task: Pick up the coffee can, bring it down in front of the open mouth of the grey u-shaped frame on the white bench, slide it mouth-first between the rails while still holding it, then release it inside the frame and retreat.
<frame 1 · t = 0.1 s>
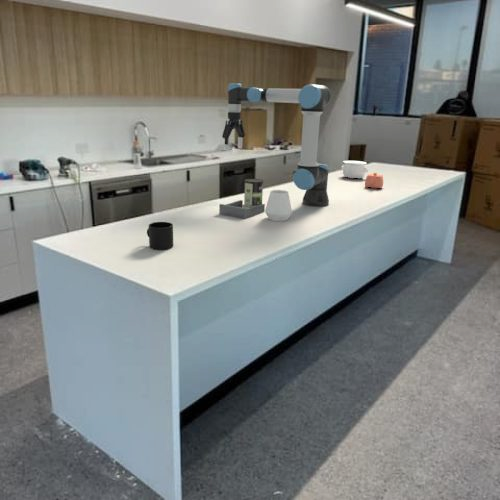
hand: (233, 149, 272), 28 cm above the countertop, fingers open, 13 cm apart
grey u-shaped frame: (243, 212, 241), on the countertop
coffee can: (253, 205, 258), on the countertop
pot: (353, 178, 358), on the countertop
mug: (159, 246, 184), on the countertop
cup: (278, 219, 231), on the countertop
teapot: (373, 188, 320), on the countertop
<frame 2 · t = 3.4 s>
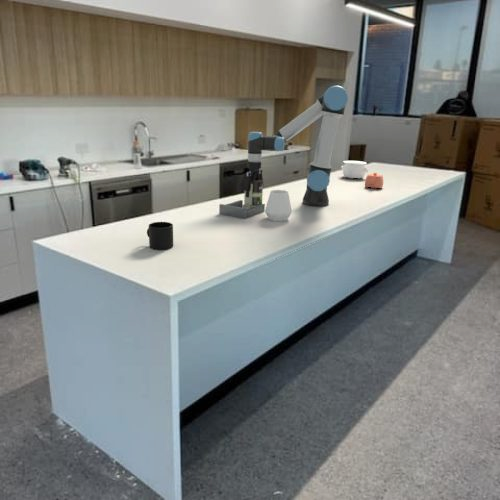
hand: (253, 201, 257), 2 cm above the countertop, fingers closed on coffee can, 10 cm apart
coffee can: (253, 205, 258), on the countertop, touching gripper
everything else where it was.
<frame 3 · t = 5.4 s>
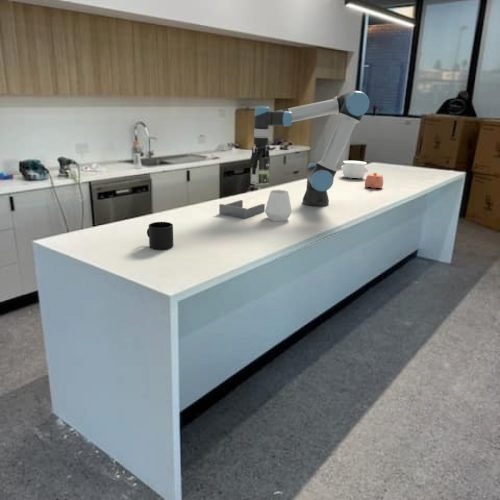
hand: (259, 179, 249), 16 cm above the countertop, fingers closed on coffee can, 10 cm apart
coffee can: (259, 183, 250), point 13 cm above the countertop, touching gripper
everything else where it was.
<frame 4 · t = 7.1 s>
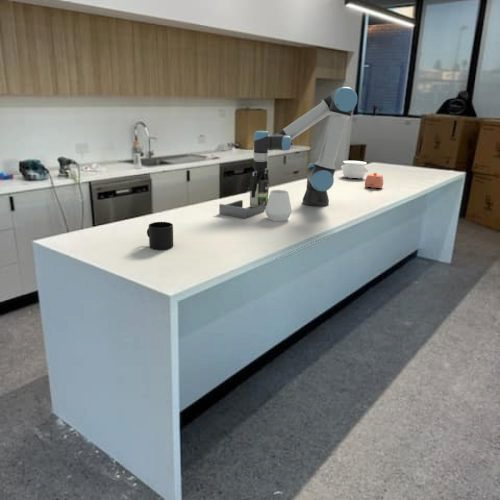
hand: (258, 201, 253), 3 cm above the countertop, fingers closed on coffee can, 10 cm apart
coffee can: (258, 205, 254), point 1 cm above the countertop, touching gripper
everything else where it was.
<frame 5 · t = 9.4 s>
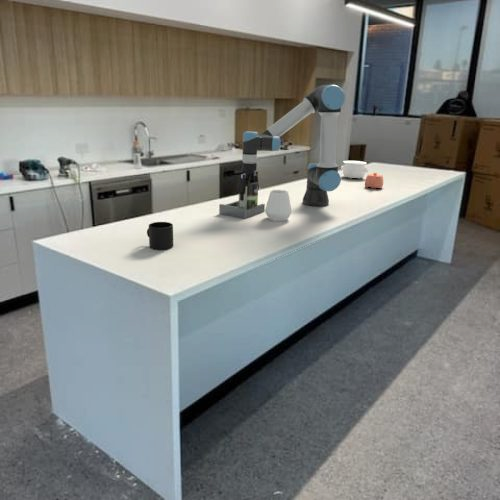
hand: (248, 204, 244), 3 cm above the countertop, fingers closed on coffee can, 10 cm apart
coffee can: (247, 209, 245), point 1 cm above the countertop, touching gripper
everything else where it was.
when the fingers open (3 cm above the countertop, at t = 11.1 s): coffee can stays where it is, resting in grey u-shaped frame.
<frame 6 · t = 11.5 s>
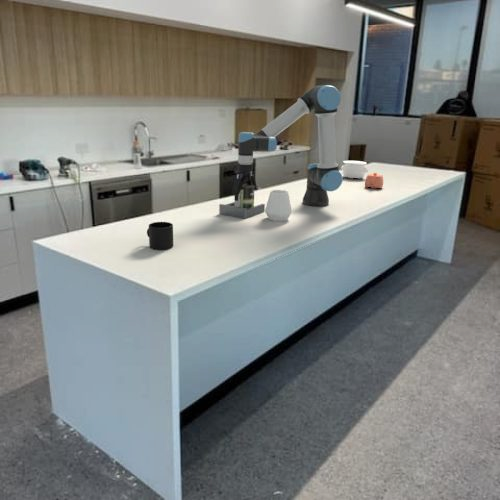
hand: (244, 204, 241), 4 cm above the countertop, fingers open, 13 cm apart
coffee can: (244, 212, 242), resting in grey u-shaped frame
everything else where it was.
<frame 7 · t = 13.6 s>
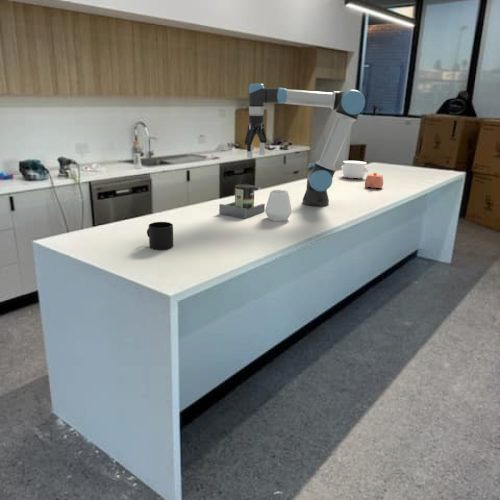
hand: (256, 156, 247), 27 cm above the countertop, fingers open, 13 cm apart
nothing on the countertop moved.
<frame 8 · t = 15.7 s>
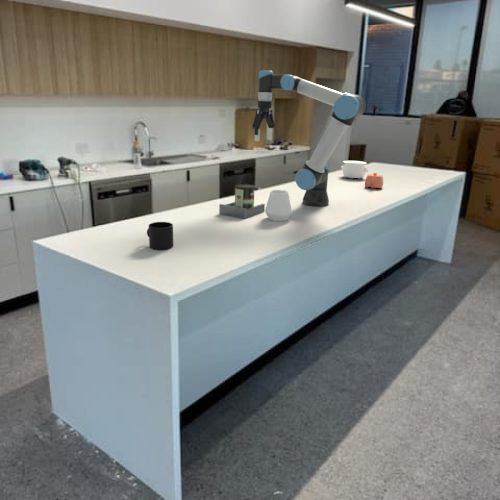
hand: (263, 140, 258), 35 cm above the countertop, fingers open, 13 cm apart
nothing on the countertop moved.
at the end: coffee can inside the target area on the grey u-shaped frame (1.0 cm from its centre), point 0.0 cm above the grey u-shaped frame's base; coffee can tilted 0°; the gripper is holding nothing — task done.
